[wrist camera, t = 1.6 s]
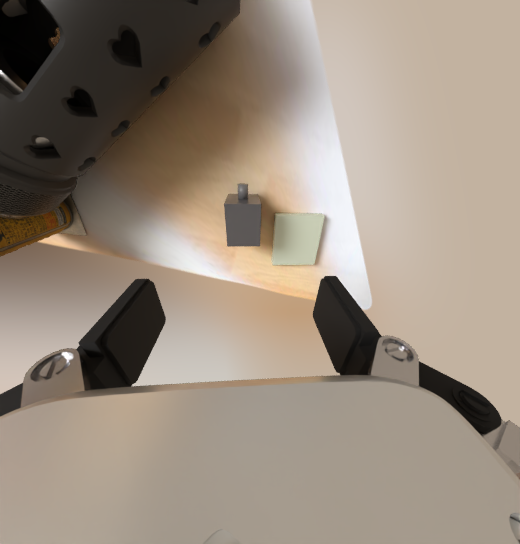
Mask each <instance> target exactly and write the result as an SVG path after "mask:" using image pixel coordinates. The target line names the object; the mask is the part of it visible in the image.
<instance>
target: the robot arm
mask: <svg viewBox="0 0 520 544" xmlns="http://www.w3.org/2000/svg"><path fill="white" fill-rule="evenodd" d="M313 318H314V321H315V323H316V326H317V328H318V330H319V333H320V335H321V337H322V340H323V342H324V344H325V347H326V349H327V352H328V354H329V356H330V359H331V361H332V363H333V366H334V368H335V370H336V372H338V373H340V376H315V377H314V376H313V377H295V378H294V377H292V378H273V379H255V380H234V381H218V382H200V383H199V382H198V383H183V384H165V385H149V386H134V387H131V386H132V384H134V383H136V381H137V380H138V378H139V376H140V374H141V371H142V370H143V367H144V365H145V363H146V361H147V359H148V357H149V355H150V353H151V351H152V349H153V347H154V345H155V343H156V341H157V338H158V337H159V334H160V332H161V330H162V328H163V326H164V324H165V320H166V319H165V315H164V312H163V309H162V306H161V303H160V300H159V297H158V294H157V291H156V288H155V285H154V283H153V282H152V281H150V280H149V279H136V280H135V281H134V282H133V283H132V284H131V285H130V286H129V287H128V288H127V289H126V291H125V292H124V293H123V294H122V295H121V296H120V297H119V298H118V299H117V300H116V302H115V303H114V304H113V305H112V306H111V307H110V308H109V309H108V311H107V312H106V313H105V314H104V315H103V316H102V317H101V318H100V319H99V320H98V322H97V323H96V324H95V325H94V326H93V327H92V328H91V329H90V330H89V332H88V333H87V334H86V335H85V336H84V337H83V338H82V339H81V340H80V342H79V345H80V346H79V347H78V348H77V349H76V350H75V349H72V348H71V349H69V348H67V349H63V350H59V351H56V352H53V353H51V354H49V355H47V356H45V357H44V358H42V359H41V360H39V361H38V362H36V363H35V364H34V365H33V366H32V367H31V368H30V369H29V370H28V372H27V373H26V374H25V377H24V381H23V383H22V384H20V385H18V386H16V387H14V388H12V389H10V390H8V391H6V392H4V393H2V394H0V544H520V428H519V427H518V426H517V425H515V424H514V423H512V422H511V421H510V420H509V421H507V422H505V421H503V420H502V419H501V417H500V415H499V413H498V411H497V410H496V408H495V407H494V406H493V405H492V404H491V403H490V402H489V401H488V400H487V399H486V398H485V397H484V396H482V395H481V394H480V393H478V392H477V391H475V390H473V389H472V388H470V387H468V386H466V385H464V384H462V383H460V382H458V381H456V380H454V379H453V378H451V377H449V376H447V375H445V374H443V373H441V372H439V371H437V370H435V369H433V368H431V367H429V366H427V365H425V364H423V363H421V362H419V359H418V355H417V353H416V352H415V350H414V349H413V348H412V347H411V346H410V345H409V344H407V343H406V342H405V341H403V340H401V339H399V338H396V337H393V336H381V335H380V334H379V332H378V330H377V329H376V328H375V326H374V325H373V324H372V322H371V321H370V320H369V319H368V317H367V316H366V314H365V313H364V312H363V311H362V309H361V308H360V307H359V305H358V304H357V303H356V301H355V300H354V299H353V298H352V296H351V295H350V294H349V292H348V291H347V290H346V288H345V287H344V286H343V284H342V283H341V282H340V281H339V279H338V278H337V277H336V276H325V277H324V279H321V282H320V286H319V290H318V294H317V298H316V303H315V307H314V311H313Z"/></svg>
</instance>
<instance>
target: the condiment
mask: <svg viewBox="0 0 520 544" xmlns="http://www.w3.org/2000/svg"><path fill="white" fill-rule="evenodd" d="M57 233H64V234H73V235H83V236H87V235H86V233H85V230H84V227H83V224H82V221H81V219H80V216H79V213H78V212H77V208H76V206H75V204H74V202H73V200H72V198H71V194H69V195H68V196H67V197H66V198H65V199H64V200H63V201H62V202H61V203H60V204H59V205H58V206H57V207H56V208H55V209H54V210H53V211H51V212H48V213H46V214H42V215H36V216H32V217H30V218H28V219H22V220H9V219H3V218H0V256H3V255H5V254H8V253H11V252H13V251H16V250H18V249H19V248H22V247H24V246H26V245H30V244H32V243H34V242H37V241H39V240H42V239H44V238H48V237H50V236H51V235H54V234H57Z"/></svg>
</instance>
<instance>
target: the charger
mask: <svg viewBox="0 0 520 544" xmlns="http://www.w3.org/2000/svg"><path fill="white" fill-rule="evenodd" d="M224 207H225V220H226V233H227V246H260V228H261V202H260V199H259V196H258V194H248V184H238V194H228V196H227V199H226V201H225V203H224Z"/></svg>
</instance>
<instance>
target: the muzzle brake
mask: <svg viewBox="0 0 520 544" xmlns="http://www.w3.org/2000/svg"><path fill="white" fill-rule="evenodd" d="M239 13H240V0H0V218H3V219H9V220H22V219H28V218H30V217H32V216H36V215H42V214H46V213H48V212H51V211H53V210H54V209H55V208H56V207H57V206H58V205H59V204H60V203H61V202H62V201H63V200H64V199H65V198H66V197H67V196H68V195H69V194H70V193H71V192H72V191H73V190H74V189H75V187H76V184H77V176H80V175H83V174H84V173H85V172H86V171H87V170H88V169H89V168H90V167H91V166H92V165H93V164H94V163H95V162H96V161H97V160H98V159H99V158H100V157H101V156H102V155H103V154H104V153H105V152H106V151H107V150H108V149H109V148H110V147H111V145H112V144H113V143H114V142H115V141H116V140H117V139H118V138H119V137H120V136H121V135H122V134H123V133H124V132H125V131H126V130H127V129H128V128H129V127H130V126H131V125H132V124H133V123H134V122H135V121H136V120H137V119H138V118H139V117H140V116H141V115H142V114H143V113H144V111H145V110H146V109H147V108H148V107H149V106H150V105H151V104H152V103H153V102H154V101H155V100H156V99H157V98H158V97H159V96H160V95H161V94H162V93H163V92H164V91H165V90H166V89H167V88H168V87H169V86H170V85H171V84H172V83H173V82H174V81H175V80H176V79H177V77H178V76H179V75H180V74H181V73H182V72H183V71H184V70H185V69H186V68H187V67H188V66H189V65H190V64H191V63H192V62H193V61H194V60H195V59H196V58H197V57H198V56H199V55H200V54H201V53H202V52H203V51H204V50H205V49H206V48H207V47H208V46H209V44H210V43H211V42H212V41H213V40H214V39H215V38H216V37H217V36H218V35H219V34H220V33H221V32H222V31H223V30H224V29H225V28H226V27H227V26H228V25H229V24H230V23H231V22H232V21H233V20H234V19H235V18H236V17H237V16H238V14H239ZM58 27H59V30H60V34H61V35H60V39H59V42H58V43H57V45H56V46H54V45H53V44H52V42H51V39H50V37H56V36H57V31H56V29H57V28H58Z"/></svg>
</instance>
